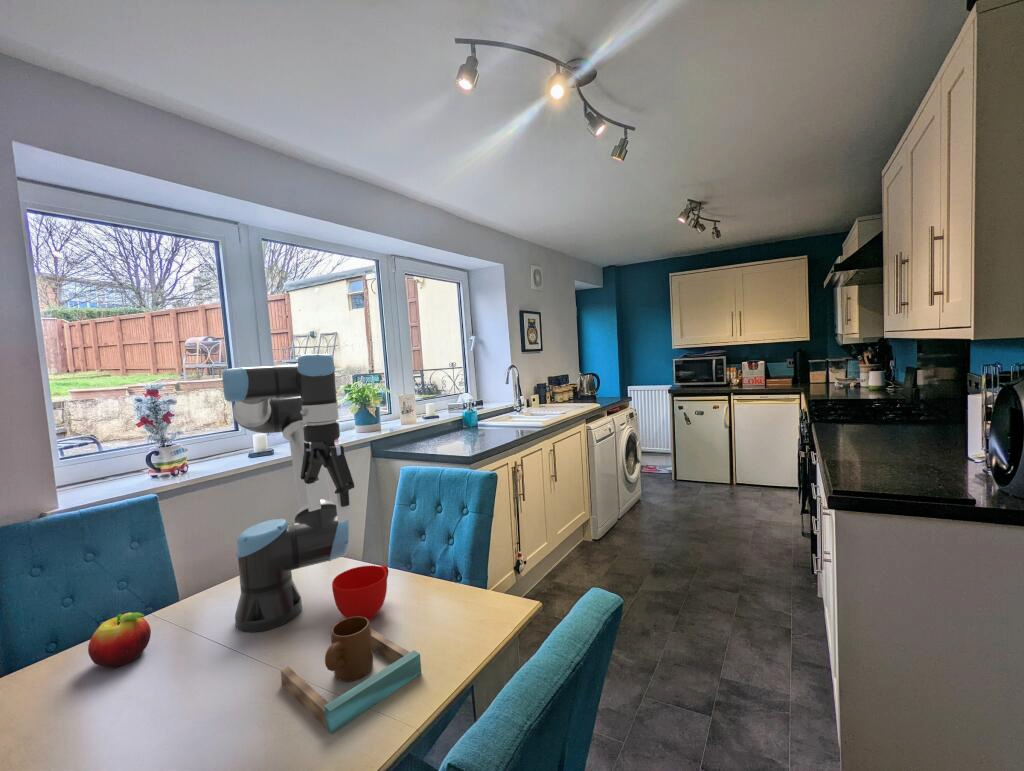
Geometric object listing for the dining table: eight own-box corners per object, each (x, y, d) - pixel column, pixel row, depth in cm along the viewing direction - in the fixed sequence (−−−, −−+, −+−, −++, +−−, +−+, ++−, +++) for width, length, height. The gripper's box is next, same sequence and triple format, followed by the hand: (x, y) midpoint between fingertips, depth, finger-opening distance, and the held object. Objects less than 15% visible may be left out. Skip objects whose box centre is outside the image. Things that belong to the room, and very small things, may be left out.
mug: (348, 701, 87) (343, 652, 87) (312, 696, 89) (308, 649, 88) (380, 660, 99) (376, 616, 98) (348, 656, 101) (344, 614, 100)
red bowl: (409, 598, 124) (406, 562, 123) (366, 635, 108) (363, 593, 108) (369, 592, 129) (366, 556, 128) (323, 626, 113) (320, 586, 113)
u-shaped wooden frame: (281, 684, 93) (280, 665, 93) (366, 638, 107) (365, 621, 107) (331, 733, 80) (329, 711, 79) (421, 672, 94) (419, 653, 94)
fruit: (114, 647, 110) (110, 606, 109) (164, 642, 111) (159, 601, 110) (76, 678, 99) (71, 632, 98) (131, 672, 100) (126, 627, 99)
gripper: (280, 422, 111) (288, 510, 112) (332, 428, 94) (341, 530, 96) (311, 418, 117) (318, 501, 118) (365, 422, 100) (373, 519, 101)
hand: (328, 515), depth 107 cm, fingers open, 13 cm apart
